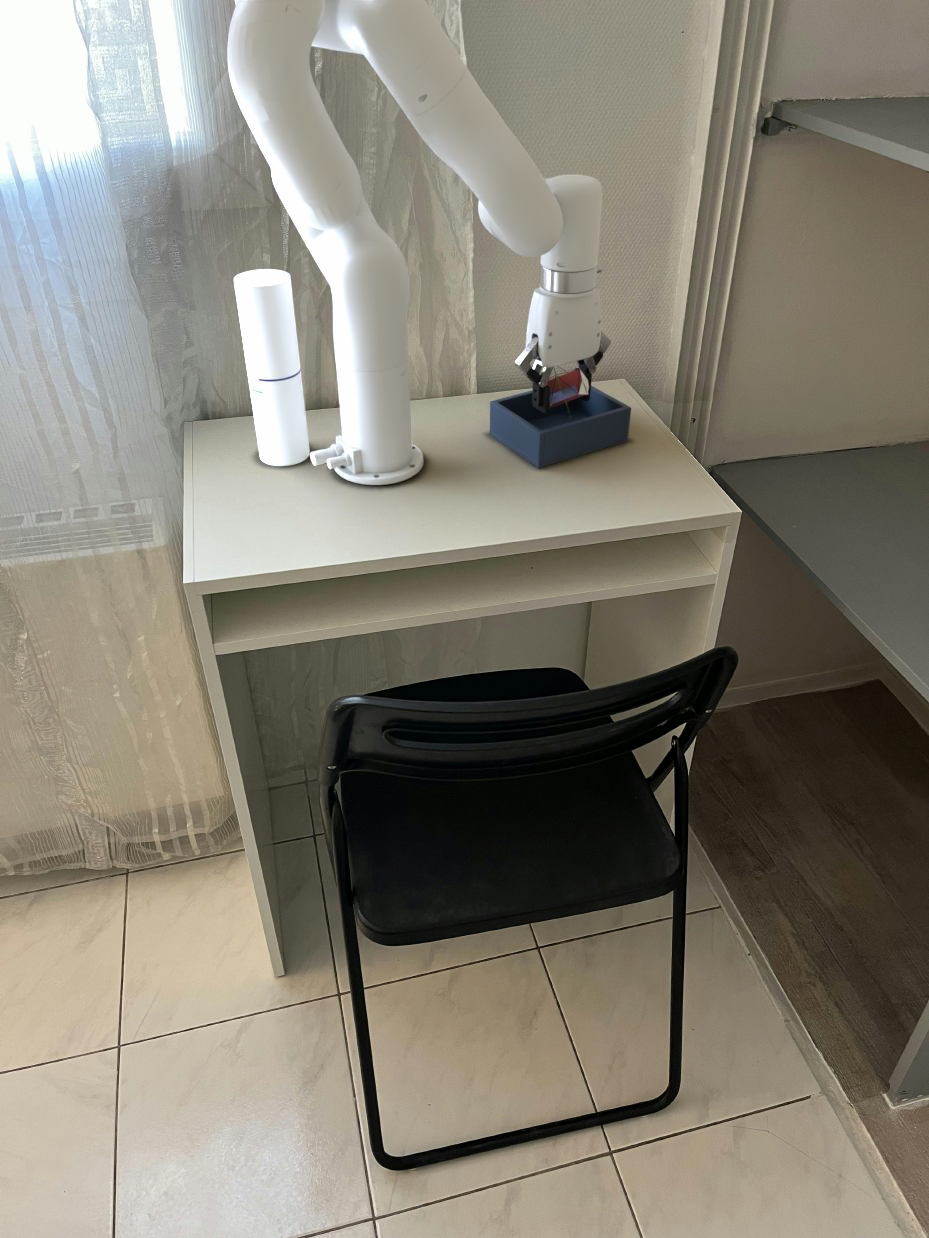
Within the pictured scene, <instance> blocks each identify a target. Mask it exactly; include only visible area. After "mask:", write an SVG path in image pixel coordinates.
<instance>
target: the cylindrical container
mask: <svg viewBox="0 0 929 1238" xmlns="http://www.w3.org/2000/svg"><path fill="white" fill-rule="evenodd" d="M233 285H234V292H235V298H236V305H237V311H238V318H239V324H240V332H241V338H242V344H243V352H244V359H245V366H246V373H247V380H248V386H249V393H250V399H251V405H252V413H253V419H254V426H255V427H254V428H255V433H256V440H257V449H258V454H259V459H260V460H261V461H262V462H263V463H265V464H266V465H269V466H275V467H288V466H294V465H297V464H300V463H302V462H305V461H306V460H307V459H308V458H309V457H310V453H311V450H310V441H309V431H308V423H307V422H308V421H307V414H306V406H305V404H306V403H305V396H304V395H305V394H304V386H303V378H302V369H301V359H300V350H299V340H298V333H297V324H296V323H297V322H296V314H295V306H294V297H293V287H292V280H291V274H290V273H289V272H287V271H286V270H285V271H284V270H281V269H274V268H259V269H251V270H247V271H243V272H241V273H238V274H235V276H234V277H233Z"/></svg>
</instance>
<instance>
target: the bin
mask: <svg viewBox="0 0 929 1238" xmlns="http://www.w3.org/2000/svg"><path fill="white" fill-rule="evenodd" d="M576 399H577V398H576ZM573 400H574V401H573ZM573 400H571V401H572V402H571V401H568V408H569V410H568V408H567V405H566V403H563V404H565V405H563V404H560V405H562V406H560V405H558V406H559V407H556V406H555V408H553V407H552V409H549V412H547V413H543V412H541V411H540V410H538V409H537V408H535V407H534V406H533V403H532V390H528V391H523V392H519V393H517V394H513V395H509V396H506V397H501V398H498V399H495V400H490V401H489V435H490V436H491V437H492V438H494V439H495V440H496V441H498V442H499V443H501V444H503V445H504V446H506V447H507V448H508V449H510V450H511V451H513V452H514V453H515V454H517V455H518V456H520V457H521V458H522V459H524V460H526V461H527V462H528V463H530V464H531V465H533V466H534V467H535V468H537V469H541V468H544V467H547V466H551V465H554V464H557V463H561V462H564V461H567V460H570V459H574V458H577V457H580V456H583V455H587V454H591V453H594V452H596V451H599V450H602V449H606V448H610V447H613V446H616V445H619V444H622V443H625V442H629V441H628V440H629V430H630V422H631V414H632V407H631V406H629V405H627V404H626V403H624V402H622V401H620V400H618V399H616V398H615V397H613V396H611V395H609V394H608V393H606V392H604V391H603V390H600V389H599V388H596V387H595V386H593V385H591V391H590V400H589V401H584V400H582V399H581V398H579V399H577V400H575V399H573ZM569 402H570V403H569ZM575 402H576V403H575ZM580 403H581V404H580ZM574 405H575V406H574ZM573 407H574V408H573ZM556 408H557V409H556ZM576 408H577V409H576ZM558 409H559V410H558ZM560 410H561V411H560ZM572 410H573V411H572ZM562 411H563V412H562ZM569 411H570V414H569ZM553 412H554V413H553ZM558 413H559V414H558ZM571 413H573V414H571ZM563 414H564V415H563ZM567 414H568V415H571V417H570V416H568V415H567Z"/></svg>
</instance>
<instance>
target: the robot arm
mask: <svg viewBox="0 0 929 1238" xmlns="http://www.w3.org/2000/svg"><path fill="white" fill-rule="evenodd" d="M234 5H235V7H234V11H233V13H232V17H231V20H230V23H229V24H230V25H229V29H228V36H227V52H226V53H227V55H226V56H227V57H226V59H227V70H228V75H229V81H230V84H231V88H232V92H233V95H234V96H235V99H236V102H237V104H238V106H239V109H240V111H241V113H242V115H243V117H244V119H245V121H246V123H247V125H248V127H249V129H250V131H251V133H252V135H253V136H254V139H255V141H256V143H257V145H258V147H259V149H260V151H261V153H262V154H263V156H264V158H265V160H266V162H267V164H268V165H269V167H270V175H271V179H272V184H273V186H274V188H275V191H276V194H277V195H278V197H279V199H280V201H281V203H282V205H283V206H284V208H285V210H286V212H287V214H288V215H289V217H290V219H291V221H292V222H293V225H294V226H295V228H296V229H297V231H298V234H299V235H300V237H301V239H302V240H303V242H304V244H305V246H306V248H307V249H308V251H309V252H310V254H311V256H312V258H313V260H314V261H315V263H316V265H317V267H318V268H319V270H320V272H321V273H322V275H323V276H324V278H325V280H326V282H327V283H328V285H329V287H330V292H331V297H332V298H331V299H332V336H333V350H334V359H335V360H334V361H335V369H336V380H337V391H338V392H337V393H338V404H339V414H340V415H339V416H340V425H341V434H339V435H335V443H333V444H331V445H330V447H328V448H327V447H326V448H321V449H317V450H313V451H310V455H309V457H310V461H311V464H312V465H313V466H315V467H317V466H320V465H323V464H326V466H327V467H328V469H329V470H332V469H333V470H334V471H335V472H336V474H337V475H339V476H340V477H341V478H342V479H344V480H345V481H349V482H352V483H354V484H360V485H365V486H366V485H367V486H383V485H392V484H398V483H400V482H403V481H406V480H408V479H410V478H412V477H415V475H417V474H418V473H419V472H420V471H421V469H422V468H423V466H424V454H423V451H422V450H421V448H419V447H418V446H417V445H415V444H414V443H413V441H412V418H411V417H412V415H411V394H410V393H411V391H410V390H411V389H410V388H411V387H410V367H409V366H410V365H409V347H408V316H409V315H408V312H409V302H410V286H411V285H410V283H411V282H410V273H409V268H408V264H407V260H406V258H405V256H404V254H403V252H402V250H401V249H400V247H399V245H398V244H397V243H396V242H395V241H394V239H393V238H391V237H390V235H389V234H388V233H387V232H386V231H384V230H383V229H382V228H381V226H380V225H379V224H378V221H377V220H376V218H375V216H374V215H373V212H372V210H371V209H370V206H369V204H368V202H367V200H366V198H365V196H364V194H363V185H362V179H361V175H360V172H359V169H358V168H357V165H356V163H355V161H354V159H353V158H352V156H351V155H350V154H349V152H348V150H347V148H346V146H345V145H344V142H343V141H342V139H341V137H340V136H339V133H338V131H337V129H336V127H335V125H334V123H333V121H332V119H331V117H330V115H329V114H328V111H327V109H326V107H325V105H324V102H323V99H322V98H321V95H320V93H319V91H318V89H317V86H316V85H315V82H314V78H313V74H312V70H311V65H310V63H311V60H310V59H311V58H310V56H311V48H312V47H315V48H319V49H327V50H332V51H337V52H345V53H351V54H358V55H363V56H364V58H365V59H366V60H367V61H368V63H369V65H370V66H371V68H372V69H373V70H374V72H375V73H376V74H377V76H378V78H379V79H380V80H381V82H382V83H383V85H384V86H385V87H386V89H387V90H388V91H389V93H390V94H391V96H392V97H393V99H394V100H395V101H396V103H397V104H398V106H399V107H400V109H401V110H402V112H403V113H404V114H405V116H406V117H407V120H409V122H410V124H411V125H412V126H413V128H414V129H415V131H416V132H417V134H418V135H419V136H420V138H421V139H422V141H423V142H424V143H425V144H426V146H428V148H430V149H431V151H432V152H433V153H434V154H435V155H436V156H437V157H438V158H439V159H440V160H441V161H442V162H443V163H444V164H445V165H447V166H448V167H449V168H450V169H451V170H452V171H454V173H455V174H456V175H457V176H458V177H459V178H460V179H461V180H462V181H463V182H464V184H466V186H467V187H468V188H469V189H470V190H471V192H472V193H473V194H474V195H475V197H476V198H477V199H478V202H477V212H478V216H479V217H478V218H479V220H480V222H481V224H482V225H483V227H484V228H485V230H486V231H488V232H489V233H490V234H491V235H492V236H493V237H494V238H496V239H497V240H498V241H499V242H501V243H503V244H504V245H505V246H507V247H508V249H510V250H512V252H513V253H515V254H516V255H519V256H521V257H525V258H537V257H540V266H539V287H536V288H535V289H534V291H533V293H532V297H531V302H530V306H529V310H528V319H527V326H526V334H525V335H526V336H525V347H524V349H523V351H521V353H520V354H519V356H518V357H517V358H516V359H515V360H514V365H515V366H516V368H518V369H519V370H520V371H521V373H523V375H524V376H525V377H526V378H527V379H529V381H530V382H532V389H531V391H532V403H533V406H534V407H535V408H537V409H538V410H540V411H541V412H543V413H547V412H548V411H549V403H550V386H548V385H546V384H547V382H548V380H550V379H549V378H551V375H552V372H553V371H554V368H555V367H557V366H558V367H560V366H563V365H564V366H565V365H567V364H570V363H575V362H576V364H577V367H574V370H575V369H579V368H580V370H581V371H582V373H583V374H584V375H585V377H586V378H587V379H588V384H589V389H588V393H589V394H588V395H585V396H583V397H582V396H581V399H582V400H584V401H589V400H590V391H591V386H592V382H593V381H592V380H593V374H595V373H596V371H597V366H598V365H599V363H600V362H601V360H602V359H603V358H604V354H605V353H606V352H607V350H608V349H609V348H610V346H611V345H612V340H611V339H610V338H609V337H608V336H607V335H606V334H605V333H604V332H603V331H602V303H601V293H600V287H599V285H598V284H597V276H598V274H600V273H602V271H603V264H602V263H601V262H599V249H600V235H601V223H602V209H603V208H602V207H603V195H604V194H603V193H604V191H603V187H602V186H603V185H602V183H601V182H600V181H599V180H598V179H597V178H595V177H593V176H590V175H586V174H578V173H577V174H576V173H575V174H560V175H556V176H554V177H549V178H548V177H544V176H543V175H542V173H541V171H540V170H539V168H538V167H537V165H536V163H535V162H534V160H533V159H532V158H531V156H530V155H529V153H528V152H527V150H526V149H525V147H524V146H523V144H522V143H521V142H520V141H519V139H518V138H517V136H516V135H515V134H514V133H513V131H512V130H511V129H510V127H509V126H508V125H507V124H506V121H504V119H503V118H502V117H501V115H500V113H499V112H498V111H497V109H496V108H495V106H494V104H493V103H492V102H491V101H490V100H489V98H488V97H487V96H486V95H485V93H484V91H483V90H482V89H481V87H480V86H479V84H478V82H477V81H476V80H475V78H474V76H473V75H472V73H471V71H470V70H469V69H468V66H467V65H466V64H465V62H464V61H463V59H462V58H461V56H460V54H459V53H458V51H457V49H456V48H455V47H454V45H453V43H452V41H451V40H450V38H449V37H448V35H447V33H446V32H445V30H444V29H443V27H442V25H441V23H440V22H439V20H438V19H437V18H436V16H435V14H434V13H433V11H432V9H431V7H430V6H429V5H428V3H427V1H426V0H234ZM532 360H535V361H534V363H533V365H531V363H532ZM553 367H554V368H553ZM579 398H580V397H579Z"/></svg>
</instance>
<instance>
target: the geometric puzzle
mask: <svg viewBox="0 0 929 1238" xmlns="http://www.w3.org/2000/svg"><path fill="white" fill-rule="evenodd" d="M563 366H565V364H564V365H562V367H563ZM556 367H557V368H559V369H561V370H563V371H564V372H561V373H558V374H557V372H556V369H555V367H553V371H554V374H555V375H553V376H550V377H549V380H548V382H547V384H546V385H548V386H550V403H549V409H552V407H553V408H555V406H556V407H559V406H558V405H560V404H563V403H566V405H567V408H568V401H571V400H573V399H575V400H577V399H579V397H580V398H581V396H582V397H583V396H585V395H588V394H589V393H588V389H589V384H588V379H587V378H586V377H585V375H584V374H583V373H582V371H581V370H580V368H579V367H578V368H579V369H575V368H574V369H572V370H569V371H566V370H565V369H563V368H562V367H560V366H556ZM567 367H569V365H568V366H567ZM569 368H570V367H569ZM576 398H577V399H576ZM573 401H574V400H573ZM571 402H572V401H571ZM569 403H570V402H569ZM575 403H576V402H575ZM580 404H581V403H580ZM563 405H565V404H563ZM560 406H562V405H560ZM574 406H575V405H574ZM573 408H574V407H573ZM556 409H557V408H556ZM576 409H577V408H576ZM558 410H559V409H558ZM568 410H569V408H568ZM560 411H561V410H560ZM572 411H573V410H572ZM548 412H549V411H548ZM562 412H563V411H562ZM553 413H554V412H553ZM558 414H559V413H558ZM569 414H570V411H569ZM571 414H573V413H571ZM563 415H564V414H563ZM567 415H568V414H567ZM568 416H570V417H571V415H568Z"/></svg>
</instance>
